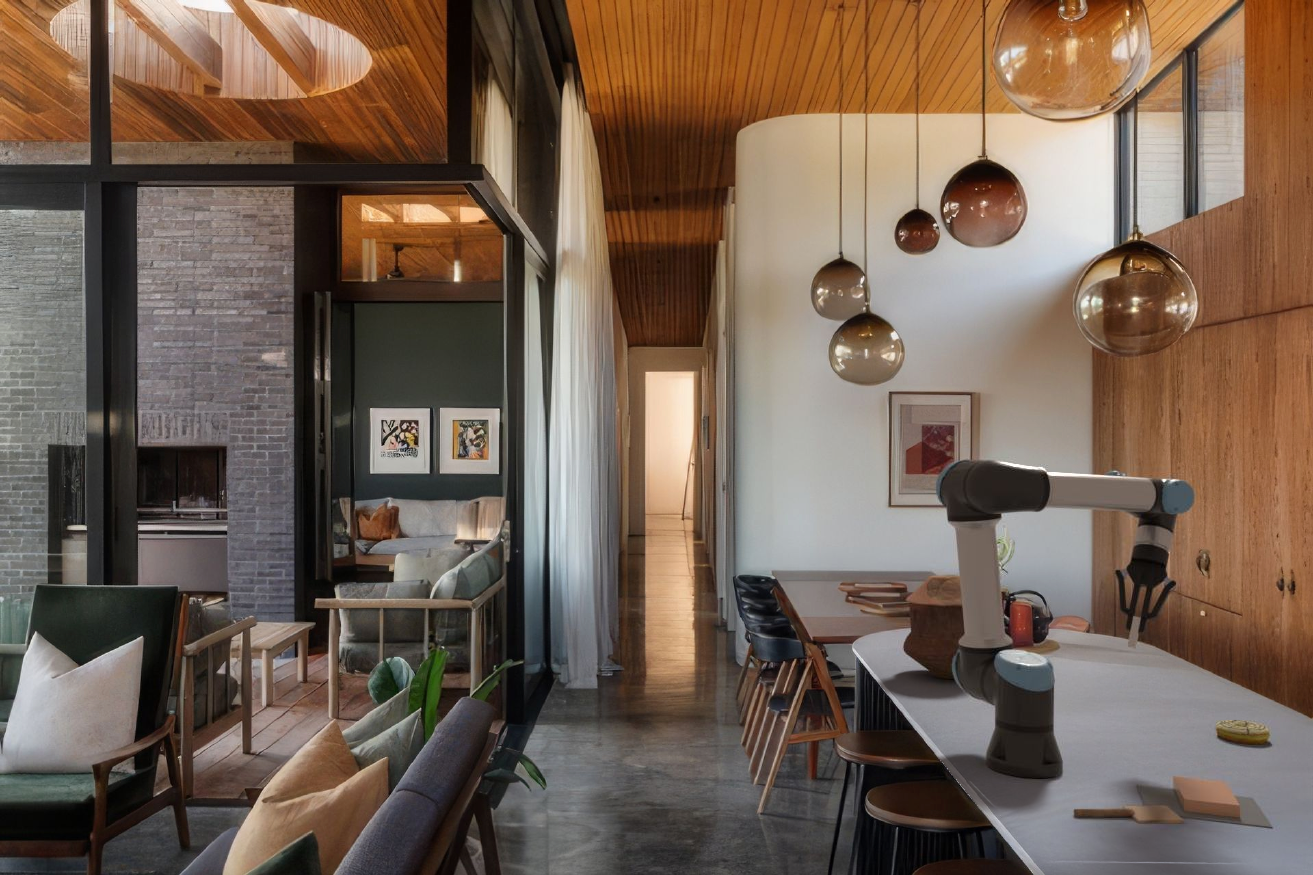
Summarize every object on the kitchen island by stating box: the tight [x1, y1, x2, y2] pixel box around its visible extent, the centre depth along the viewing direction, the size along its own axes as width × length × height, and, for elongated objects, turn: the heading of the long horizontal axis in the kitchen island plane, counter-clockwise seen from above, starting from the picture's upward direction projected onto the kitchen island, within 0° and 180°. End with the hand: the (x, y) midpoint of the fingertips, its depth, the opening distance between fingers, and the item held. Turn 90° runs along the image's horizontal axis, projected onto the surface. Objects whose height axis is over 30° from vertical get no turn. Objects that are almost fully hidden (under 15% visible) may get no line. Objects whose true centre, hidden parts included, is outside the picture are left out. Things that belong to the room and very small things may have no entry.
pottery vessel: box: [902, 574, 965, 680], centre depth 295 cm, size 26×26×30 cm
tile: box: [1172, 776, 1240, 818], centre depth 187 cm, size 9×2×14 cm
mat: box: [1136, 784, 1274, 829], centre depth 185 cm, size 20×16×1 cm
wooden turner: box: [1073, 805, 1184, 824], centre depth 180 cm, size 18×6×1 cm, turn 90°
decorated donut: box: [1214, 719, 1271, 745], centre depth 231 cm, size 10×11×4 cm
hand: (1131, 645), depth 221 cm, fingers closed
